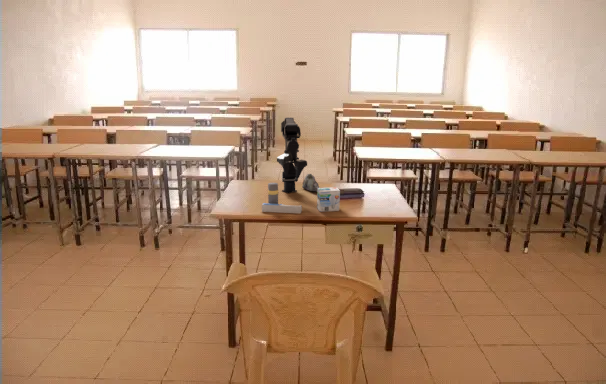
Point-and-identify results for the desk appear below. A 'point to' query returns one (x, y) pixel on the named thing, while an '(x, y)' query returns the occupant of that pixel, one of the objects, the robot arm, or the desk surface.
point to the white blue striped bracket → (281, 208)
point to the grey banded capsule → (273, 193)
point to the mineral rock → (310, 183)
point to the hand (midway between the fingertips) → (291, 176)
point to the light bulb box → (328, 199)
